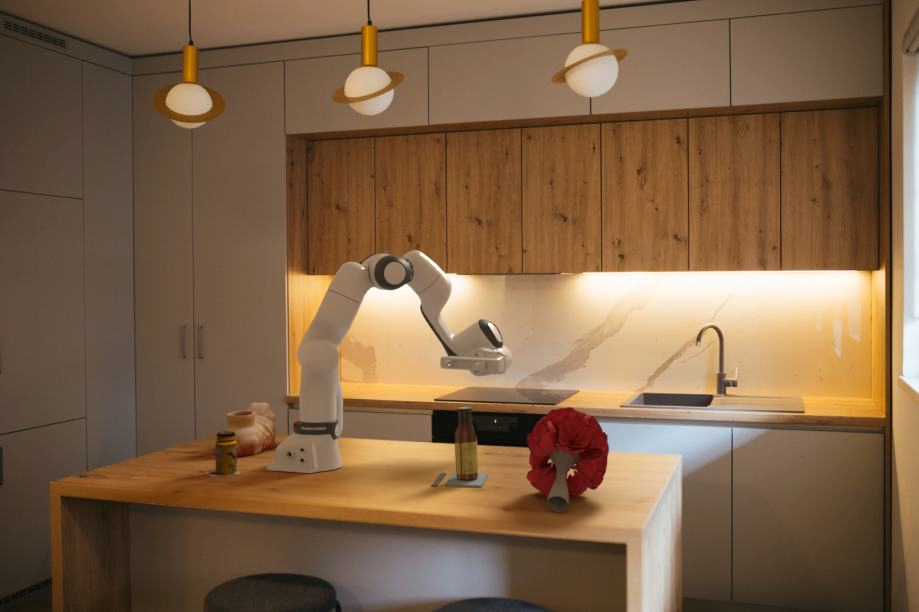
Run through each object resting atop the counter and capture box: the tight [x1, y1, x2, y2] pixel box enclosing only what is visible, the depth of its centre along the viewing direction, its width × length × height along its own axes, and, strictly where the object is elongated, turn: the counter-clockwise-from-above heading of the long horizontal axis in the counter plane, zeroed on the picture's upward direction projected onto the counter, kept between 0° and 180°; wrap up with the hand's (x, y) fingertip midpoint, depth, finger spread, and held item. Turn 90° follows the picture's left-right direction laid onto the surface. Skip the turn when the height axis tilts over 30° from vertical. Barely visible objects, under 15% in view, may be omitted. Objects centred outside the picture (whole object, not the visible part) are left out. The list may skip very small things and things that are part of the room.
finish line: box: [430, 472, 447, 487], centre depth 245 cm, size 2×16×1 cm, turn 171°
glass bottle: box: [336, 369, 344, 439], centre depth 306 cm, size 10×10×28 cm
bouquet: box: [526, 406, 610, 513], centre depth 221 cm, size 22×24×30 cm
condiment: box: [204, 430, 242, 478], centre depth 255 cm, size 7×8×12 cm
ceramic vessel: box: [226, 402, 277, 458], centre depth 291 cm, size 14×26×15 cm, turn 167°
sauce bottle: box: [454, 406, 479, 480], centre depth 244 cm, size 6×6×20 cm
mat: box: [444, 471, 489, 488], centre depth 244 cm, size 10×15×1 cm, turn 171°
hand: (460, 365), depth 263 cm, fingers open, 8 cm apart
